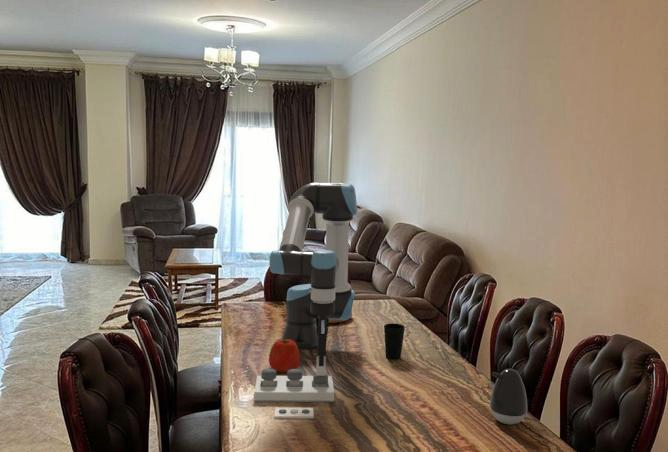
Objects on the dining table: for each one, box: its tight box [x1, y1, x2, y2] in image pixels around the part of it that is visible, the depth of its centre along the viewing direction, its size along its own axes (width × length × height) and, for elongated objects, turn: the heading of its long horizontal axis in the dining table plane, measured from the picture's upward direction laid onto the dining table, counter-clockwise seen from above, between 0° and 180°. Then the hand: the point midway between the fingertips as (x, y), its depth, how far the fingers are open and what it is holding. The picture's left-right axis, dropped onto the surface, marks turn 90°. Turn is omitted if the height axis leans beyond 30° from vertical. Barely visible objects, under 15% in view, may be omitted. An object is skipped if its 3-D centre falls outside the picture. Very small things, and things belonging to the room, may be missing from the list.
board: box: [253, 375, 335, 403], centre depth 186 cm, size 14×24×3 cm, turn 93°
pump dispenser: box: [489, 368, 528, 425], centre depth 170 cm, size 10×10×15 cm
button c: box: [260, 368, 277, 387], centre depth 186 cm, size 5×5×5 cm
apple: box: [268, 339, 301, 373], centre depth 208 cm, size 11×11×11 cm
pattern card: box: [274, 407, 315, 419], centre depth 171 cm, size 6×11×1 cm, turn 93°
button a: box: [312, 373, 329, 387], centre depth 187 cm, size 5×5×5 cm
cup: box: [383, 322, 406, 361], centre depth 223 cm, size 8×8×12 cm
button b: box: [286, 368, 303, 387], centre depth 186 cm, size 5×5×5 cm
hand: (320, 374), depth 186 cm, fingers closed
